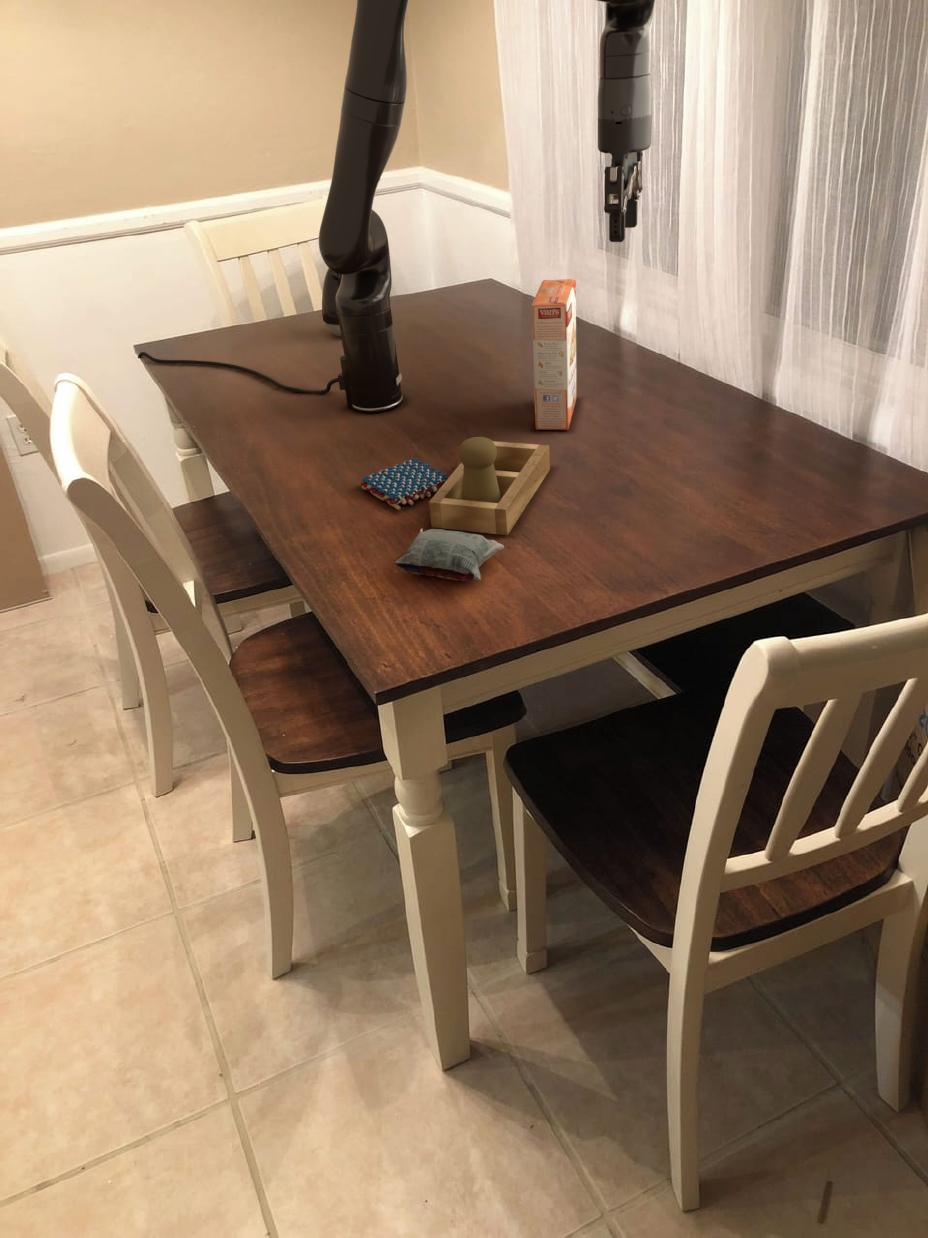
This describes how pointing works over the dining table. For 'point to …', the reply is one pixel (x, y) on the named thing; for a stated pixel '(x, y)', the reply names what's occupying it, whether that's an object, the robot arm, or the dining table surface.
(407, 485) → the woven mat
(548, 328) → the cracker box
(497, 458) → the spice rack
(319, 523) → the dining table surface
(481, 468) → the olive peg doll
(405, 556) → the packaged food
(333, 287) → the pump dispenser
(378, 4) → the robot arm
